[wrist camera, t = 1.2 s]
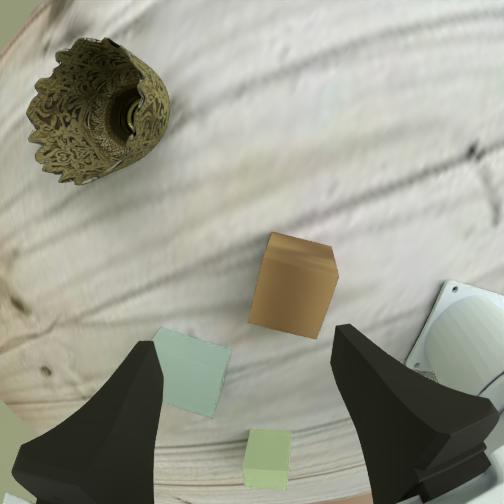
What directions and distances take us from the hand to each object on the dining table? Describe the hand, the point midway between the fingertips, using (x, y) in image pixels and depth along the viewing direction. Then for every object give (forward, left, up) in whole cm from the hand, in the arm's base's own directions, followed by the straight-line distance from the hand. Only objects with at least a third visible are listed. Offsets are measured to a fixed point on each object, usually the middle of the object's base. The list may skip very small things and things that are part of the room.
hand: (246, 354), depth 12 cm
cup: (+10, -8, -10) cm, 17 cm away
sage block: (-5, +19, -10) cm, 22 cm away
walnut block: (-2, 0, -10) cm, 10 cm away
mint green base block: (+4, +11, -10) cm, 16 cm away
